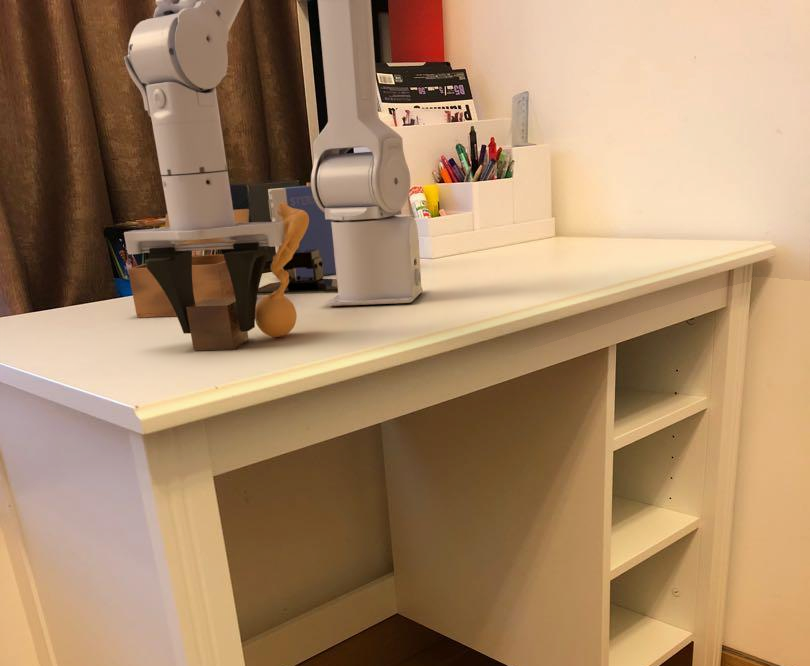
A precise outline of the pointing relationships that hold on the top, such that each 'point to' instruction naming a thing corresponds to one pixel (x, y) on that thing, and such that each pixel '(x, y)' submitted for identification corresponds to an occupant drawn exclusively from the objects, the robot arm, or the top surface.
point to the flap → (239, 217)
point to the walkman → (317, 229)
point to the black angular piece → (304, 284)
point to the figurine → (282, 277)
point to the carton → (206, 280)
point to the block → (215, 325)
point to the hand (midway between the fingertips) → (219, 330)
